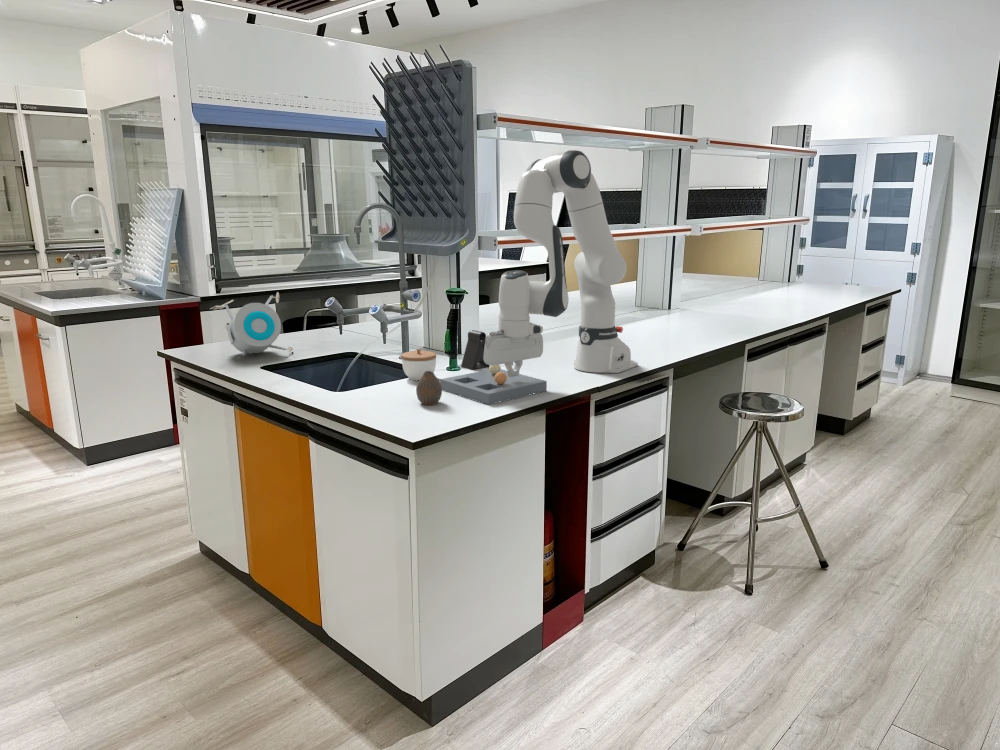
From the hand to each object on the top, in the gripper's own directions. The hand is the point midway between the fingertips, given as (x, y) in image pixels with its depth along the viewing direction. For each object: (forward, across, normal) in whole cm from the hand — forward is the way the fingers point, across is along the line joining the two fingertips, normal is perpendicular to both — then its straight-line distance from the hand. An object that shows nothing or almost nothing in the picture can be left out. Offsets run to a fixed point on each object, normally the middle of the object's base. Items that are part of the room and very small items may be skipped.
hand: (513, 376), depth 200 cm
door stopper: (+5, +12, +32) cm, 35 cm away
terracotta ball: (0, -5, 0) cm, 5 cm away
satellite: (+5, -37, +99) cm, 106 cm away
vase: (+5, -26, +6) cm, 27 cm away
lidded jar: (+5, -12, +31) cm, 33 cm away
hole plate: (+5, -4, +5) cm, 8 cm away
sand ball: (0, +1, +10) cm, 10 cm away
